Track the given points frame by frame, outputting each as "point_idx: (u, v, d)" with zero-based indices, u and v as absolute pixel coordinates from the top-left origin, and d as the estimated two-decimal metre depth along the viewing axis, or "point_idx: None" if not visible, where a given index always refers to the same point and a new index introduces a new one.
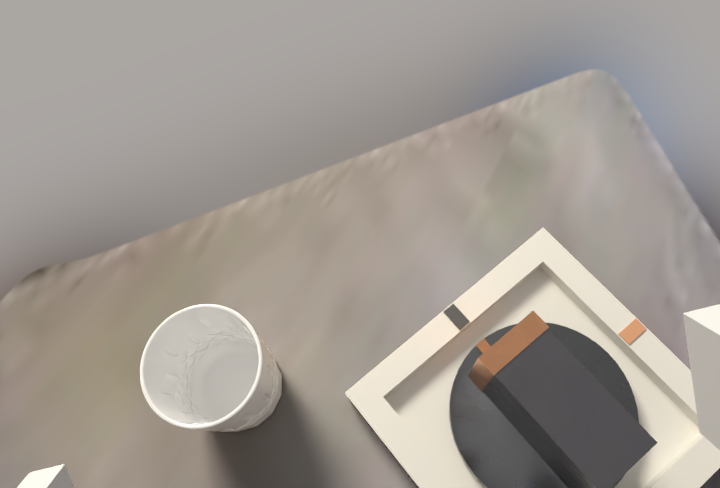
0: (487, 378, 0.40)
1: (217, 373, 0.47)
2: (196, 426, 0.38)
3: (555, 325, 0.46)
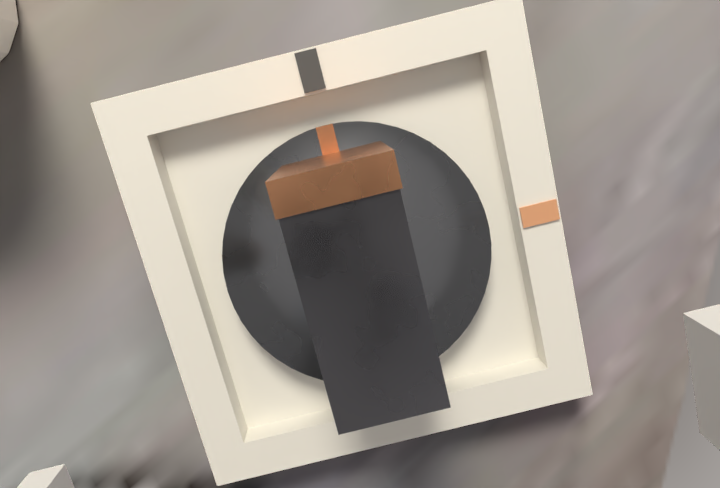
0: None
1: None
2: None
3: (443, 155, 0.29)
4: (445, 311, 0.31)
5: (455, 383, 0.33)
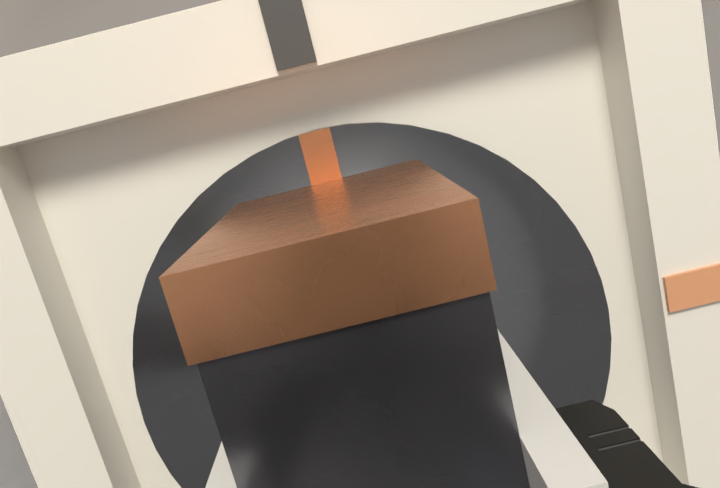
0: None
1: None
2: None
3: (532, 184, 0.16)
4: None
5: None
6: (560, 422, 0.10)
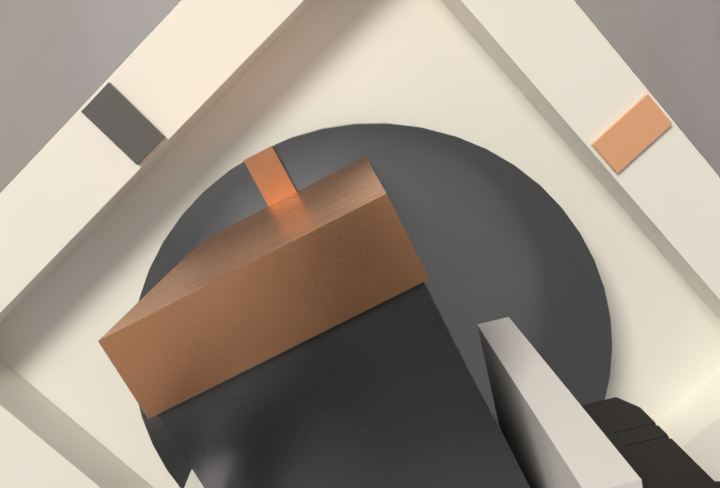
0: None
1: None
2: None
3: (486, 154, 0.16)
4: None
5: None
6: (588, 419, 0.10)
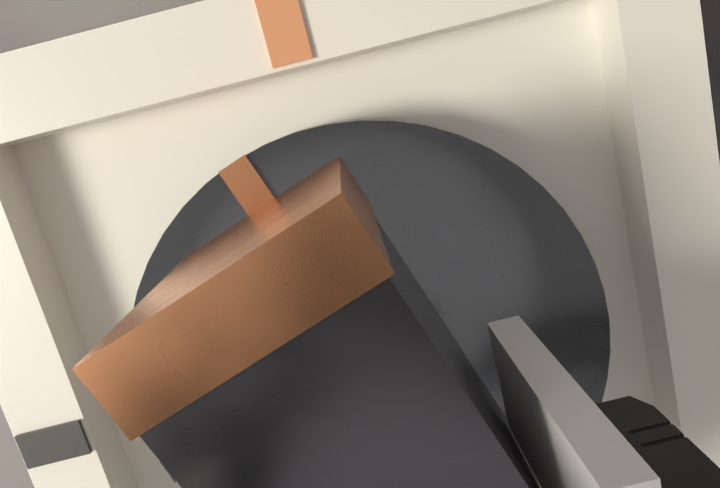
0: None
1: None
2: None
3: (460, 140, 0.16)
4: None
5: (627, 169, 0.17)
6: (603, 418, 0.10)
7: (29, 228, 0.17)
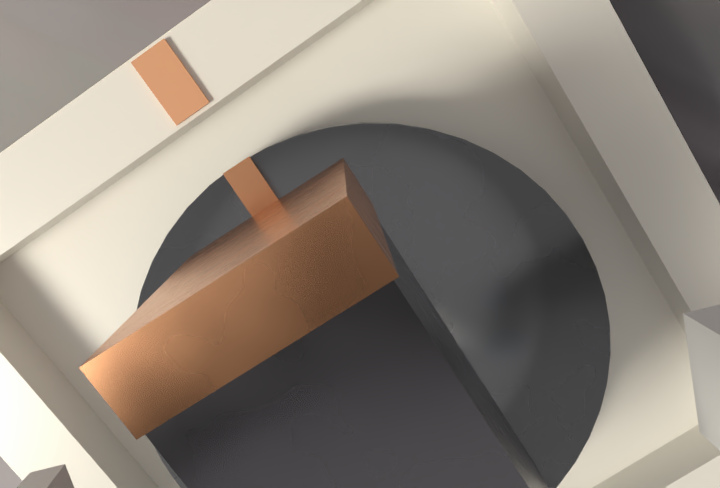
0: None
1: None
2: None
3: (463, 144, 0.16)
4: (552, 403, 0.17)
5: (554, 94, 0.16)
6: None
7: (21, 346, 0.17)
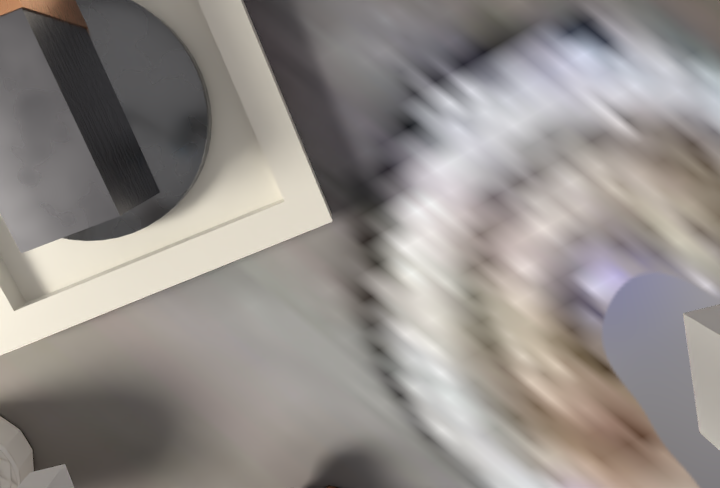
0: None
1: None
2: None
3: (138, 7, 0.31)
4: (172, 160, 0.33)
5: None
6: None
7: None
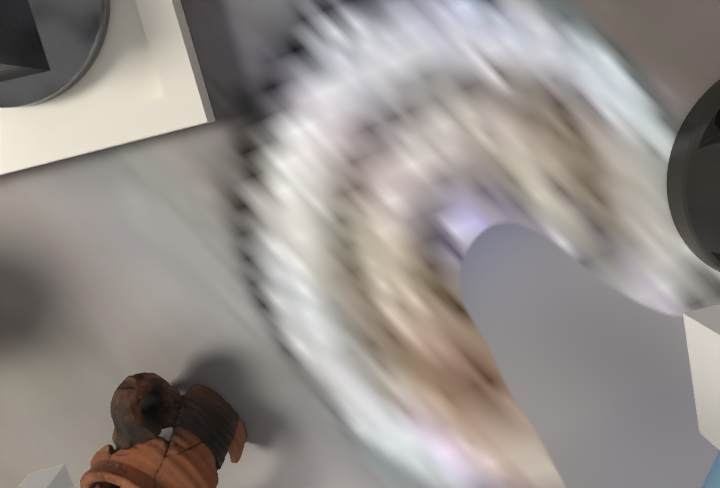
0: None
1: None
2: None
3: None
4: (65, 41, 0.36)
5: None
6: None
7: None
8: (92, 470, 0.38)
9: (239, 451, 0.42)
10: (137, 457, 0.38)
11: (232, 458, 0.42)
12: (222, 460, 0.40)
